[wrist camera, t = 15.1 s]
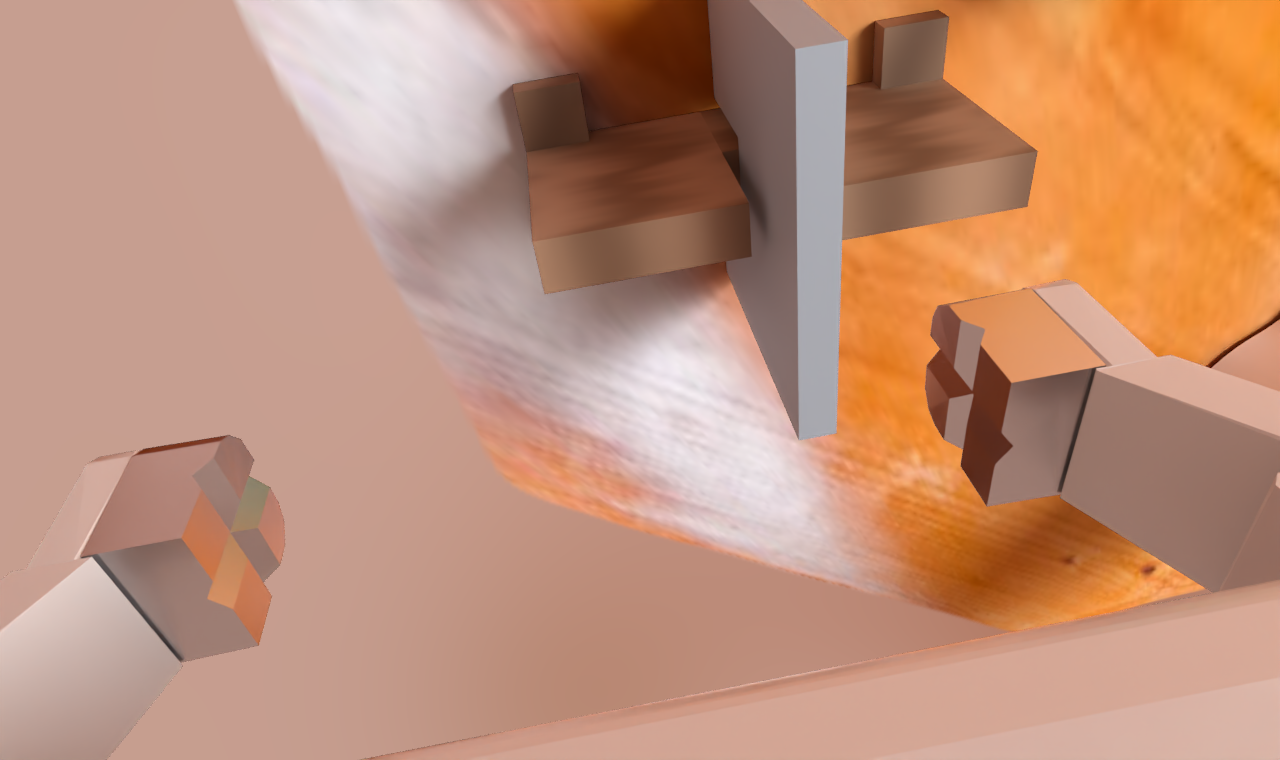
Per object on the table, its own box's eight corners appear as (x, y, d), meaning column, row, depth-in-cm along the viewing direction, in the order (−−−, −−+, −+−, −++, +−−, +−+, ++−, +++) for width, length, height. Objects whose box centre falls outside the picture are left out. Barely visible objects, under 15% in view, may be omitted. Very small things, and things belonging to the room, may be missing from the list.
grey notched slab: (755, 266, 46) (836, 433, 35) (726, 271, 45) (798, 440, 35) (740, -53, 36) (847, 39, 25) (704, -47, 36) (795, 49, 25)
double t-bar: (938, 10, 38) (1050, 79, 30) (923, 170, 43) (1016, 265, 35) (512, 84, 38) (516, 174, 30) (547, 237, 43) (557, 349, 35)
